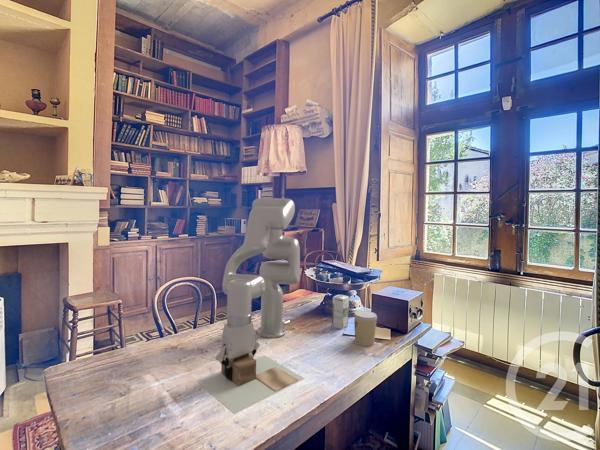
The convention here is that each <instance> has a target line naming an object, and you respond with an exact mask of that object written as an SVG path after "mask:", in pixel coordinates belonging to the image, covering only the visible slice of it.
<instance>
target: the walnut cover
mask: <svg viewBox="0 0 600 450" xmlns="http://www.w3.org/2000/svg"><path fill="white" fill-rule="evenodd" d="M225 356H226V355H224V356H223V359H225ZM255 359H256V358H252V357H250V356H248V355H247V354H245V355H242V356H239V357H236V358H234V359H233V362H232V365H231V367H232V380H231V381H232V382H233V383H234V384H236V385H237V386H238V387H239V386H241V385H243V384H246V383H248V382H250V381H252V380H255V379H256V360H255ZM228 361H229V360H228ZM220 366H221V369H220V370H221V371H220V372H221V374H223V375H224V376H225V366H224V365H223V364H221V363H220Z"/></svg>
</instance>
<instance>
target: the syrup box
mask: <svg viewBox="0 0 600 450" xmlns="http://www.w3.org/2000/svg"><path fill="white" fill-rule="evenodd" d="M349 301H350V297H349V296H348V295H345V294H337V295H334V296H332V305H331V325H330V326H331V327H332V328H335V329H339V330H343V329H345V328H347V327H348V325H349V306H350V305H349Z"/></svg>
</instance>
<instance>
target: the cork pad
mask: <svg viewBox="0 0 600 450" xmlns="http://www.w3.org/2000/svg"><path fill="white" fill-rule="evenodd" d="M256 378H257V379H258V380H259V381H261V382H262V383H264V384H265V385H267V386H268V387H270V388H271V389H273V390H274V391H278V390H281V389H283V388H285V387H287V386H289V385H291V384H293V383H295V382H297V381H298V379H296V378H295V377H293V376H291V375H289V374H288V373H286V372H284V371H283V370H281V369H279V368H277V367H273V368H271V369H269V370H266V371H264V372H262V373H259V374H257V375H256ZM297 383H298V382H297ZM295 384H296V383H295ZM293 385H294V384H293ZM291 386H292V385H291ZM289 387H290V386H289ZM287 388H288V387H287ZM285 389H286V388H285ZM283 390H284V389H283ZM281 391H282V390H281Z"/></svg>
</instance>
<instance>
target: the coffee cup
mask: <svg viewBox="0 0 600 450" xmlns="http://www.w3.org/2000/svg"><path fill="white" fill-rule="evenodd" d="M353 317H354V321H353V322H354V342H355V343H356V345H359V346H362V347H372V346H374V344H375V339H376V338H375V337H376V328H377V319H378V316H377V314H376V313H375V312H372V311H369V310H357V311H355V313H353Z"/></svg>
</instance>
